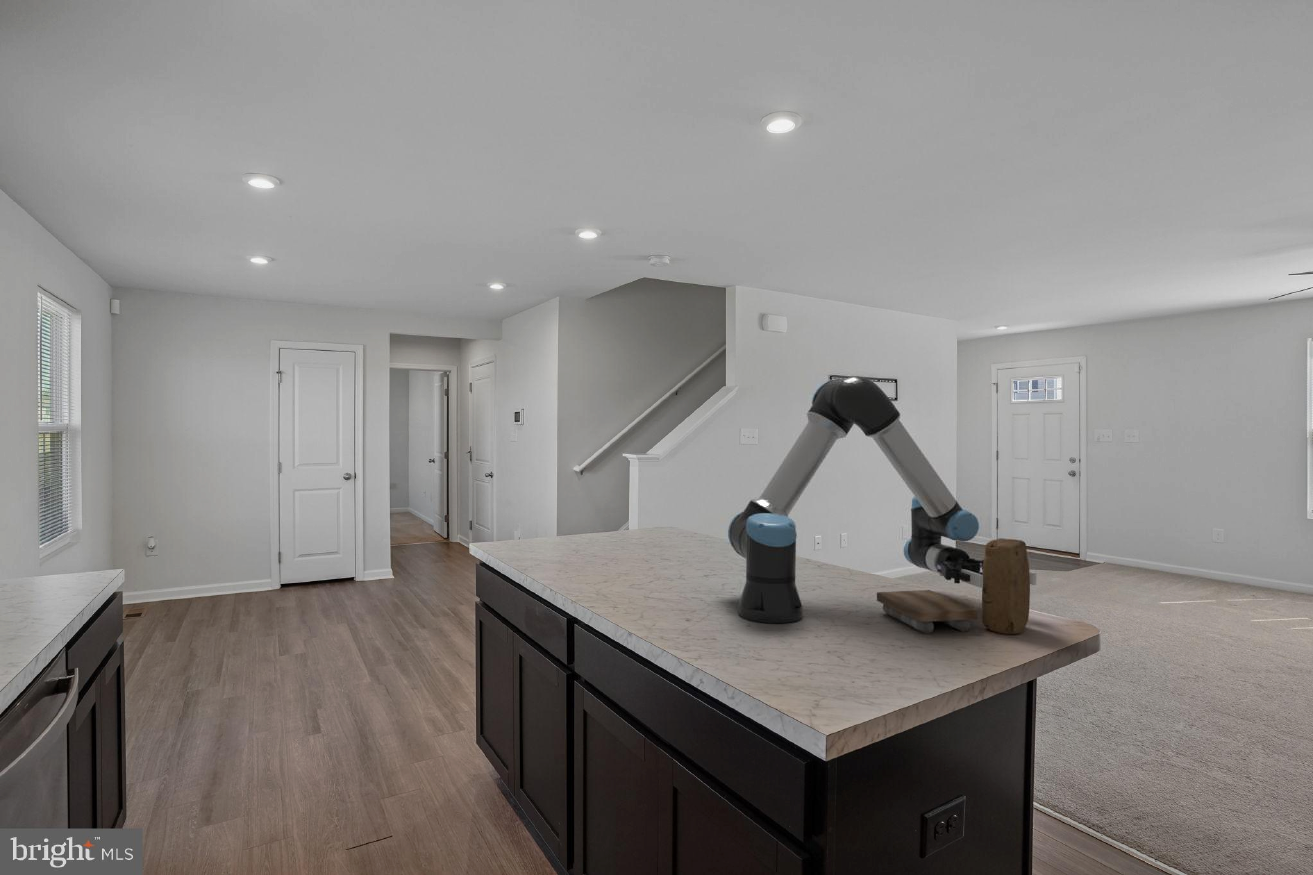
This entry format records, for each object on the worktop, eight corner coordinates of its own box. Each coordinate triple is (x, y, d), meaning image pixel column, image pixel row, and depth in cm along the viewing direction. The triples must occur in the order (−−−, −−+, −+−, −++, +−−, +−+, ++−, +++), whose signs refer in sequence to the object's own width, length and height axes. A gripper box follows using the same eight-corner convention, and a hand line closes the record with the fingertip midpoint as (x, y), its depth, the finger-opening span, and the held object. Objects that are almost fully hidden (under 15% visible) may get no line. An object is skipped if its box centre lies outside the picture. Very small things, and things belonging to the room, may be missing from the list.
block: (1013, 638, 143) (1014, 544, 143) (977, 629, 149) (979, 540, 149) (1034, 628, 150) (1035, 539, 150) (999, 621, 156) (1000, 535, 156)
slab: (919, 635, 145) (919, 612, 144) (876, 612, 162) (876, 592, 162) (977, 632, 147) (977, 609, 147) (928, 610, 165) (929, 590, 165)
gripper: (991, 574, 173) (1056, 594, 152) (904, 578, 168) (958, 599, 147) (992, 545, 173) (1056, 561, 152) (904, 548, 168) (959, 565, 147)
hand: (1008, 580), depth 150 cm, fingers open, 13 cm apart
